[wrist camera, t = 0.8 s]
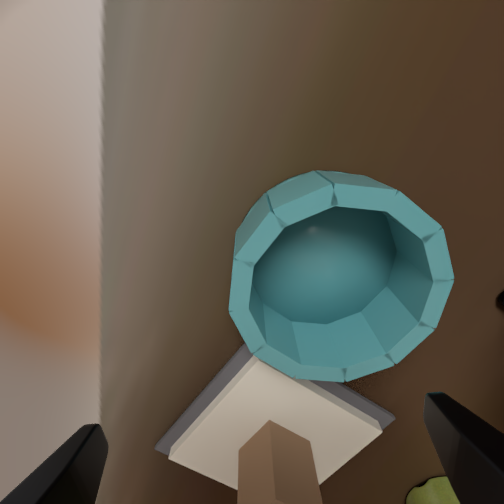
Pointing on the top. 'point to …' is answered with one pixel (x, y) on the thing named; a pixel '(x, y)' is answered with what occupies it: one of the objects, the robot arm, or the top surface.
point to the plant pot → (433, 493)
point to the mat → (229, 373)
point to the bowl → (337, 276)
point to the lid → (273, 437)
